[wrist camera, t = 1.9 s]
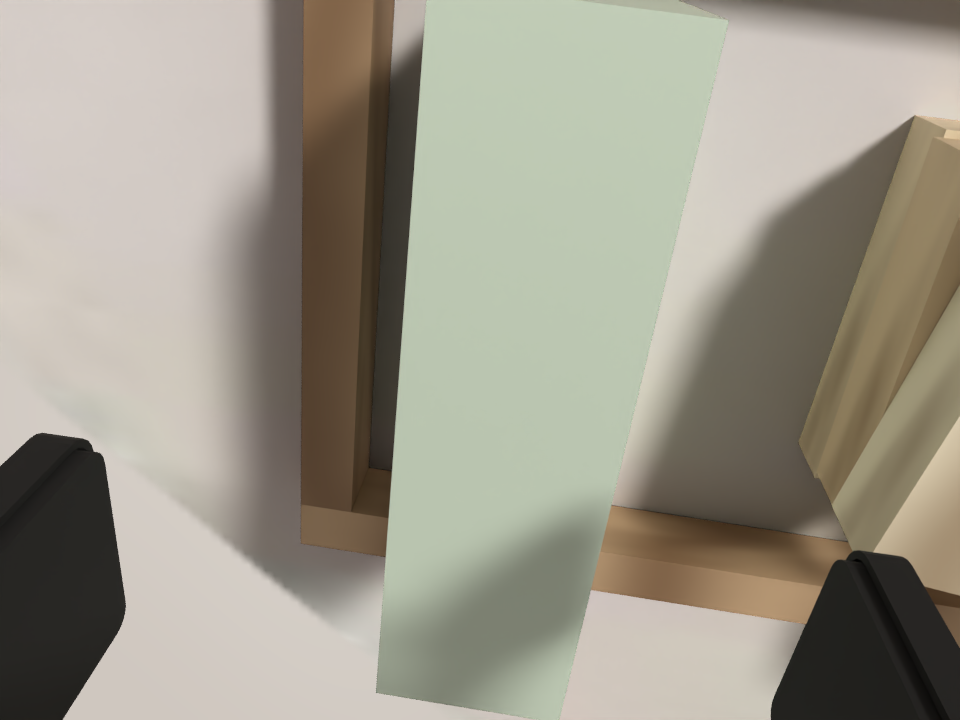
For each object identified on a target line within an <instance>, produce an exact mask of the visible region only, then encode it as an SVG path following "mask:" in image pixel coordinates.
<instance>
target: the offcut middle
mask: <svg viewBox="0 0 960 720" xmlns="http://www.w3.org/2000/svg"><path fill="white" fill-rule="evenodd" d="M959 285H960V139H951V138H941V137H933V138H932V141H931V144H930V147H929V150H928V153H927V156H926V158H925V161H924V164H923V167H922V170H921V173H920V176H919V179H918V181H917V184H916V187H915V190H914V193H913V196H912V199H911V202H910V204H909V207H908V210H907V213H906V216H905V219H904V222H903V225H902V227H901V230H900V233H899V236H898V239H897V242H896V245H895V248H894V250H893V253H892V256H891V259H890V262H889V265H888V268H887V271H886V273H885V276H884V279H883V282H882V285H881V288H880V291H879V293H878V296H877V299H876V302H875V305H874V308H873V311H872V314H871V316H870V319H869V322H868V325H867V328H866V331H865V334H864V337H863V339H862V342H861V345H860V348H859V351H858V354H857V357H856V360H855V362H854V365H853V368H852V371H851V374H850V377H849V380H848V383H847V385H846V388H845V391H844V394H843V397H842V400H841V403H840V405H839V408H838V411H837V414H836V417H835V420H834V423H833V426H832V428H831V431H830V434H829V437H828V440H827V443H826V446H825V449H824V451H823V454H822V457H821V460H820V463H819V466H818V469H817V474H818V476H819V478H820V480H821V483H822V485H823V487H824V489H825V491H826V493H827V496H828V498H829V500H830V502H831V504H833V502H834V500H835V499H836V497H837V495H838V493H839V492H840V490H841V488H842V487H843V485H844V483H845V481H846V480H847V478H848V476H849V474H850V473H851V471H852V469H853V468H854V466H855V464H856V462H857V461H858V459H859V457H860V456H861V454H862V452H863V450H864V449H865V447H866V445H867V444H868V442H869V440H870V438H871V437H872V435H873V433H874V431H875V430H876V428H877V426H878V425H879V423H880V421H881V419H882V418H883V416H884V414H885V413H886V411H887V409H888V407H889V406H890V404H891V402H892V401H893V399H894V397H895V395H896V394H897V392H898V390H899V388H900V387H901V385H902V383H903V382H904V380H905V378H906V376H907V375H908V373H909V371H910V370H911V368H912V366H913V364H914V363H915V361H916V359H917V357H918V356H919V354H920V352H921V351H922V349H923V347H924V345H925V344H926V342H927V340H928V339H929V337H930V335H931V333H932V332H933V330H934V328H935V327H936V325H937V323H938V321H939V320H940V318H941V316H942V314H943V313H944V311H945V309H946V308H947V306H948V304H949V302H950V301H951V299H952V297H953V296H954V294H955V292H956V290H957V289H958V287H959Z"/></svg>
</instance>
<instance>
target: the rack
mask: <svg viewBox="0 0 960 720" xmlns="http://www.w3.org/2000/svg"><path fill="white" fill-rule="evenodd" d="M394 1H395V0H304V8H303V211H302V414H301V544H307V545H313V546H320V547H326V548H332V549H338V550H345V551H351V552H357V553H364V554H370V555H376V556H382V557H386V547H387V533H388V520H389V506H390V492H391V478H392V471H386V470H380V469H373V468H369V454H370V436H371V418H372V400H373V382H374V364H375V346H376V327H377V309H378V291H379V273H380V255H381V237H382V219H383V201H384V183H385V164H386V146H387V128H388V110H389V92H390V74H391V56H392V38H393V20H394ZM851 552H853V551H852V549H851V547H850V545H849V542H844V541H837V540H831V539H824V538H818V537H811V536H805V535H798V534H792V533H786V532H779V531H773V530H766V529H760V528H753V527H747V526H741V525H734V524H728V523H721V522H715V521H708V520H702V519H695V518H689V517H683V516H676V515H670V514H663V513H657V512H650V511H644V510H637V509H631V508H625V507H618V506H612V505H611V509H610V513H609V517H608V521H607V525H606V529H605V534H604V538H603V542H602V546H601V550H600V554H599V558H598V562H597V566H596V571H595V575H594V579H593V583H592V587H591V590H595V591H601V592H608V593H614V594H620V595H627V596H633V597H639V598H645V599H652V600H658V601H664V602H670V603H677V604H683V605H689V606H695V607H702V608H708V609H714V610H720V611H727V612H733V613H739V614H746V615H752V616H758V617H764V618H771V619H777V620H783V621H789V622H796V623H802V624H806V623H807V621H808V619H809V616H810V614H811V612H812V610H813V607H814V605H815V603H816V601H817V598H818V596H819V594H820V591H821V589H822V587H823V585H824V582H825V580H826V578H827V576H828V573H829V571H830V569H831V567H832V565H833V563H834V562H835V561H837V560H841V559H842V560H846V559H847V557H848V555H849V554H850V553H851ZM924 587H925V586H924ZM925 589H926V590H927V592H928V594H929V596H930V597H931V599H932V601H933V602H934V604H935V606H936V608H937V609H938V611H939V613H940V615H941V616H942V618H943V620H944V622H945V623H946V625H947V627H948V629H949V630H950V632H951V634H952V635H953V637H954V639H955V641H956V642H957V644H958V646H959V648H960V595H956V594H952V593H948V592H944V591H940V590H936V589H932V588H929V587H925Z"/></svg>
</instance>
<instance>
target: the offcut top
mask: <svg viewBox="0 0 960 720" xmlns="http://www.w3.org/2000/svg"><path fill="white" fill-rule="evenodd" d="M831 506H832V508H833V510H834V512H835V514H836V516H837V519H838V521H839V523H840V525H841V527H842V529H843V532H844V534H845V536H846V538H847V540H848V542H849V545H850V547H851V549H852V551H856V550H861V551H868V552H875V553H882V554H889V555H896V556H902V557H904V558H906V559H907V560H908V561H909V562H910V563H911V565H912V566H913V568H914V569H915V571H916V573H917V575H918V576H919V578H920V580H921V582H922V583H923V585H924V586H925V587H929V588H932V589H936V590H940V591H944V592H948V593H952V594H956V595H960V285H959V287H958V289H957V290H956V292H955V294H954V296H953V297H952V299H951V301H950V302H949V304H948V306H947V308H946V309H945V311H944V313H943V314H942V316H941V318H940V320H939V321H938V323H937V325H936V327H935V328H934V330H933V332H932V333H931V335H930V337H929V339H928V340H927V342H926V344H925V345H924V347H923V349H922V351H921V352H920V354H919V356H918V357H917V359H916V361H915V363H914V364H913V366H912V368H911V370H910V371H909V373H908V375H907V376H906V378H905V380H904V382H903V383H902V385H901V387H900V388H899V390H898V392H897V394H896V395H895V397H894V399H893V401H892V402H891V404H890V406H889V407H888V409H887V411H886V413H885V414H884V416H883V418H882V419H881V421H880V423H879V425H878V426H877V428H876V430H875V431H874V433H873V435H872V437H871V438H870V440H869V442H868V444H867V445H866V447H865V449H864V450H863V452H862V454H861V456H860V457H859V459H858V461H857V462H856V464H855V466H854V468H853V469H852V471H851V473H850V474H849V476H848V478H847V480H846V481H845V483H844V485H843V487H842V488H841V490H840V492H839V493H838V495H837V497H836V499H835V500H834V502H833V504H832V505H831Z"/></svg>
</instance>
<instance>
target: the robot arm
mask: <svg viewBox="0 0 960 720" xmlns="http://www.w3.org/2000/svg"><path fill="white" fill-rule="evenodd" d="M125 604H126V603H125V595H124V589H123V582H122V575H121V568H120V562H119V555H118V549H117V541H116V535H115V528H114V521H113V514H112V508H111V501H110V495H109V488H108V481H107V474H106V467H105V462H104V458H103V456H102V455H101V454H100V453H98V452H94V451H93V448H92V445H91V444H90V443H89V441H88V440H85V439H81V438H74V437H67V436H60V435H53V434H47V433H40V434H36V435H34V436H33V437H31V438H30V439H29V440H28V441H27V442H26V443H25V444H24V445H23V446H21V447H20V448H19V449H18V450H17V451H16V452H15V453H14V454H13V455H12V456H11V457H10V458H9V459H8V460H7V461H5V462H4V463H3V464H2V465H1V466H0V720H63V718H64V716H65V715H66V713H67V712H68V710H69V708H70V707H71V705H72V704H73V702H74V700H75V699H76V698H77V696H78V694H79V693H80V691H81V690H82V688H83V687H84V685H85V683H86V682H87V680H88V679H89V677H90V675H91V674H92V672H93V671H94V669H95V668H96V666H97V665H98V663H99V661H100V660H101V658H102V657H103V655H104V653H105V652H106V650H107V649H108V647H109V646H110V644H111V643H112V641H113V639H114V638H115V636H116V635H117V633H118V631H119V629H120V627H121V625H122V622H123V619H124V615H125V608H126V605H125ZM771 720H960V648H959V646H958V644H957V642H956V641H955V639H954V637H953V635H952V634H951V632H950V630H949V629H948V627H947V625H946V623H945V622H944V620H943V618H942V616H941V615H940V613H939V611H938V609H937V608H936V606H935V604H934V602H933V601H932V599H931V597H930V596H929V594H928V592H927V590H926V589H925V587H924V585H923V583H922V582H921V580H920V578H919V576H918V575H917V573H916V571H915V569H914V568H913V566H912V565H911V563H910V562H909V561H908V560H907V559H906V558H904V557H902V556H896V555H889V554H882V553H875V552H868V551H861V550H856V551H853V552H851V553H850V554H849V555H848V557H847V559H846V560H842V559H841V560H837V561H835V562H834V563H833V565H832V567H831V569H830V571H829V573H828V576H827V578H826V580H825V582H824V585H823V587H822V589H821V591H820V594H819V596H818V598H817V601H816V603H815V605H814V607H813V610H812V612H811V614H810V616H809V619H808V621H807V623H806V626H805V628H804V630H803V632H802V635H801V637H800V639H799V641H798V644H797V646H796V648H795V651H794V653H793V655H792V657H791V660H790V662H789V664H788V666H787V669H786V671H785V673H784V676H783V678H782V680H781V682H780V685H779V687H778V689H777V691H776V694H775V696H774V699H773V702H772V707H771Z"/></svg>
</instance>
